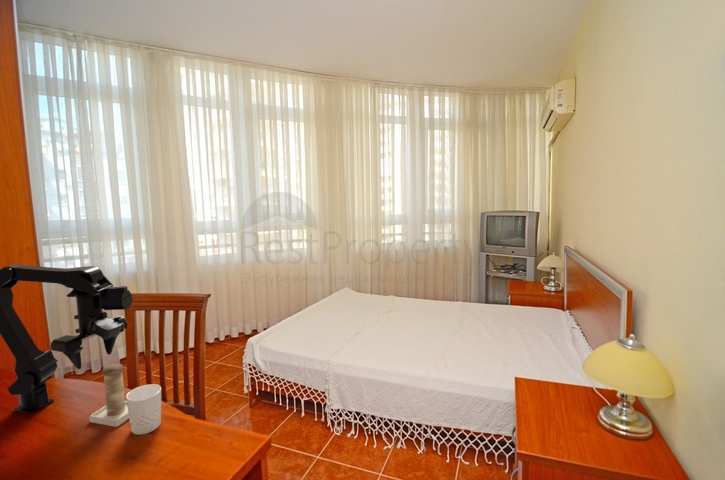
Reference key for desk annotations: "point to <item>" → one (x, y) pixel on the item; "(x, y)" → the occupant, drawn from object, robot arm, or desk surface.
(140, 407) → the white cup
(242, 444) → the desk surface
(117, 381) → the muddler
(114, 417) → the tray
